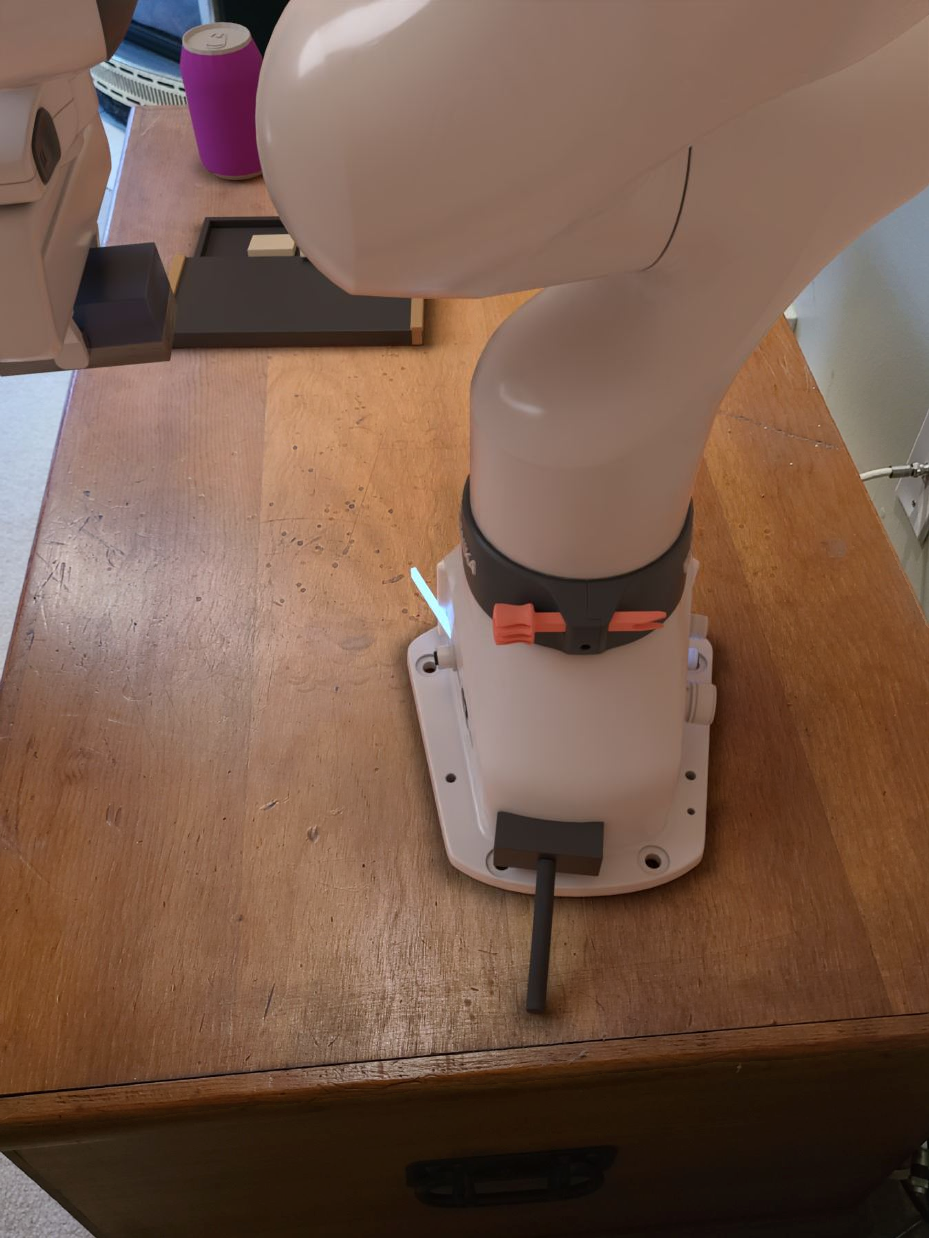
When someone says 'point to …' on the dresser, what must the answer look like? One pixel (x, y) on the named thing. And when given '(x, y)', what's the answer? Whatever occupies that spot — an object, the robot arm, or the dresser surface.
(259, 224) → the tray
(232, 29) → the beverage can
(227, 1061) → the dresser surface
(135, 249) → the eraser
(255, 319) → the slate board
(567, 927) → the dresser surface
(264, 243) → the chalk tile
